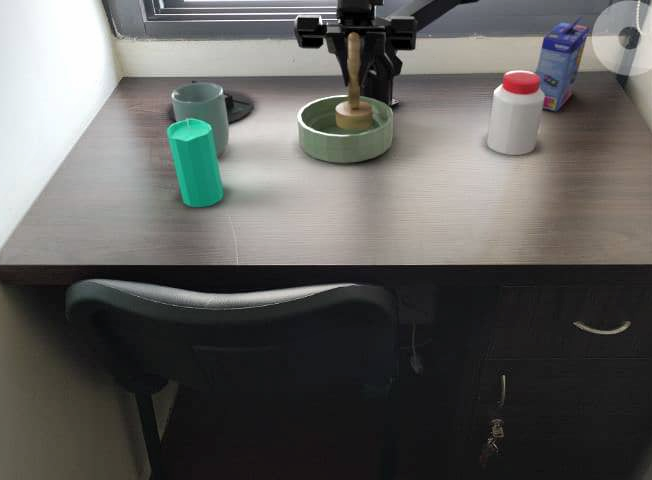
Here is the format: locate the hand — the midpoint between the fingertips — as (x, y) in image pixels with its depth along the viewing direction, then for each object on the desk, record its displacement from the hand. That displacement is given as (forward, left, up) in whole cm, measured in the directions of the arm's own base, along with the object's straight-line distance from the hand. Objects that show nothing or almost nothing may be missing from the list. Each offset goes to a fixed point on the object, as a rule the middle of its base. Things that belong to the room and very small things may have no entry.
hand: (353, 86), depth 93 cm
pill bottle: (-18, +18, -10) cm, 27 cm away
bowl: (+1, -1, -10) cm, 10 cm away
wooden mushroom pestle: (-1, -1, -7) cm, 7 cm away
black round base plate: (+10, -28, -10) cm, 31 cm away
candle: (+27, -3, -10) cm, 29 cm away
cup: (+19, -14, -10) cm, 26 cm away
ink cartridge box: (-37, +13, -10) cm, 41 cm away
